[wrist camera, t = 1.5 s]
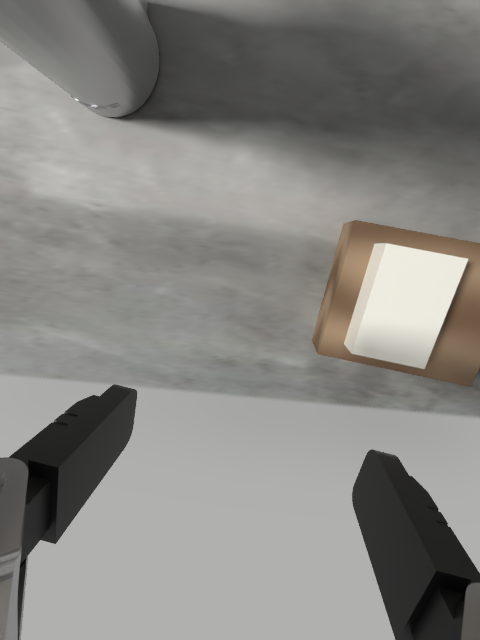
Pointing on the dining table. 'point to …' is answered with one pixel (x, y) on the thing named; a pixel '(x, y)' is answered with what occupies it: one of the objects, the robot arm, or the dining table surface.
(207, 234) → the dining table surface
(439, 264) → the white bevelled block
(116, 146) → the dining table surface
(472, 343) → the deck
